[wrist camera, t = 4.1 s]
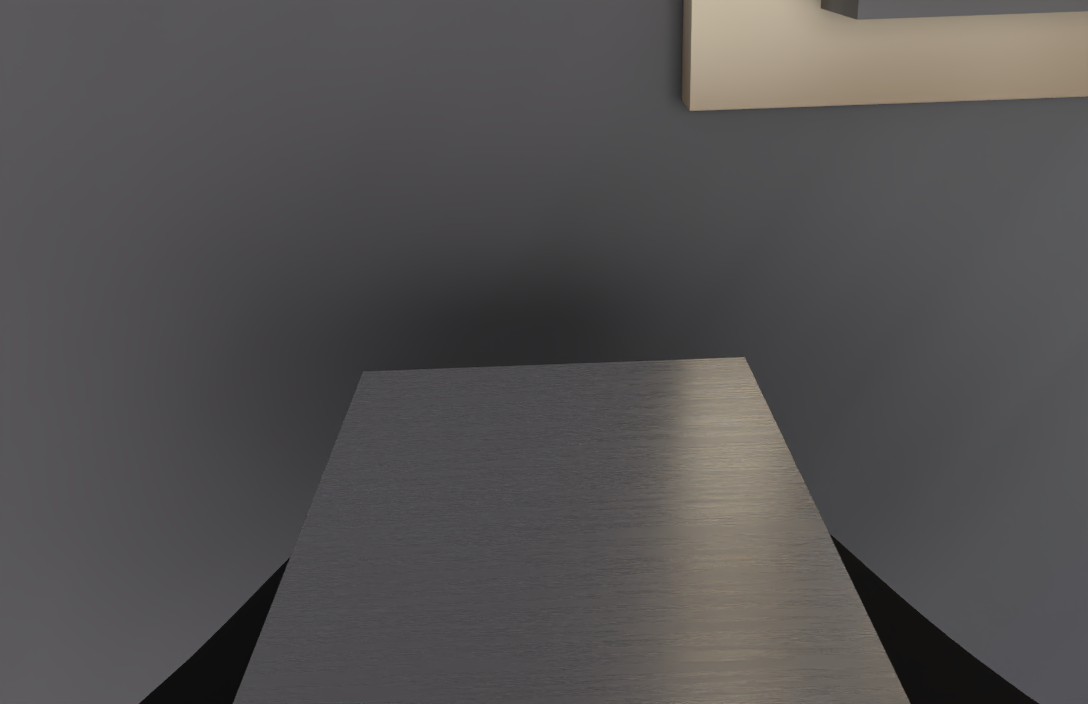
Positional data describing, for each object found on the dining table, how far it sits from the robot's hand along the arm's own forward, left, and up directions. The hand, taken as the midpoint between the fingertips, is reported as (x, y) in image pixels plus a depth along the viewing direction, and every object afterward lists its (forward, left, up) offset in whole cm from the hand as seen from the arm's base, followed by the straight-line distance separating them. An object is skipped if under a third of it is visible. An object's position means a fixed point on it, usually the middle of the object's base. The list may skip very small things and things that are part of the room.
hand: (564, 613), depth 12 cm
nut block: (0, 0, -2) cm, 2 cm away
